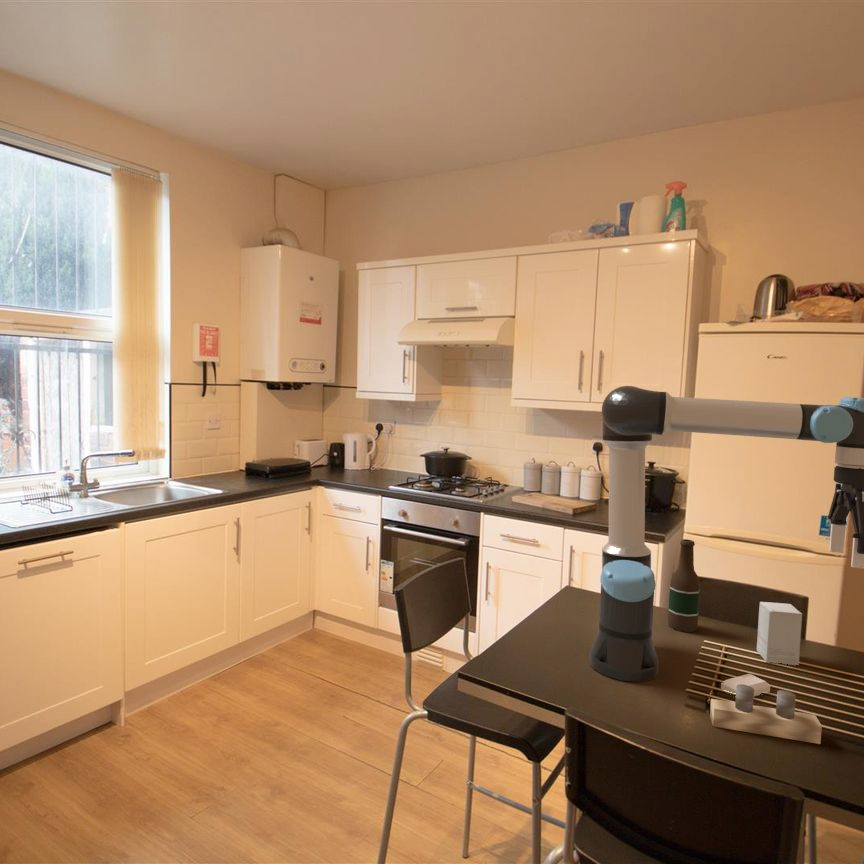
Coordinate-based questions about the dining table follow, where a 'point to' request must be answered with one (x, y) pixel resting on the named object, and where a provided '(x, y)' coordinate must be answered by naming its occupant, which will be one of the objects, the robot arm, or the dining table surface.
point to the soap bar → (748, 680)
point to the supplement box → (779, 633)
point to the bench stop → (765, 716)
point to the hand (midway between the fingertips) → (846, 559)
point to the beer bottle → (684, 592)
